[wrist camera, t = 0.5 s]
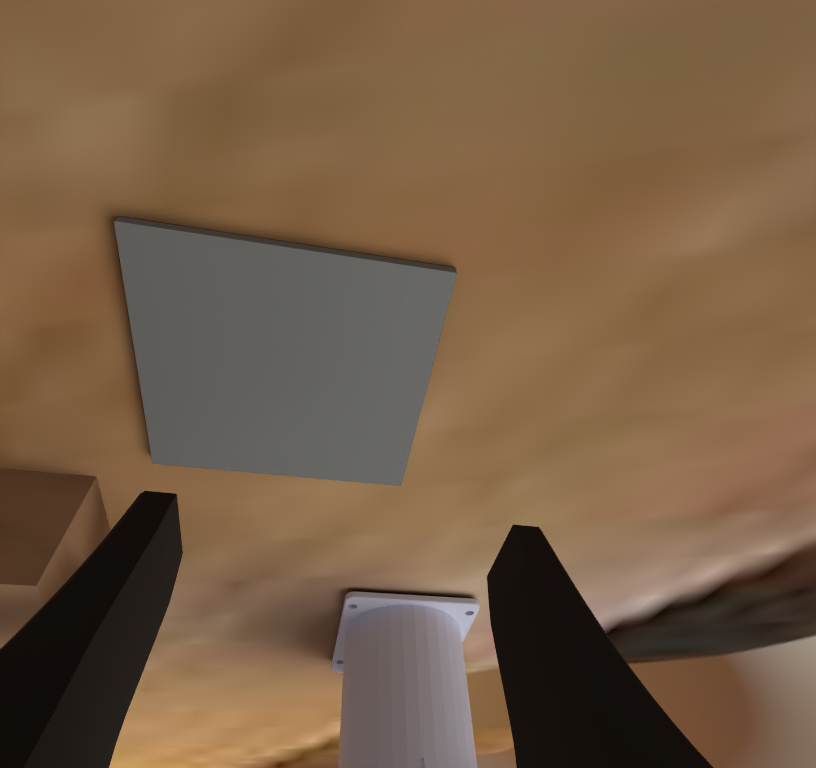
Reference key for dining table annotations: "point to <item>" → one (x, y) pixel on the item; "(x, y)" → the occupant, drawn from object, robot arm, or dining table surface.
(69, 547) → the walnut cube
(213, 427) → the mat
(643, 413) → the dining table surface
